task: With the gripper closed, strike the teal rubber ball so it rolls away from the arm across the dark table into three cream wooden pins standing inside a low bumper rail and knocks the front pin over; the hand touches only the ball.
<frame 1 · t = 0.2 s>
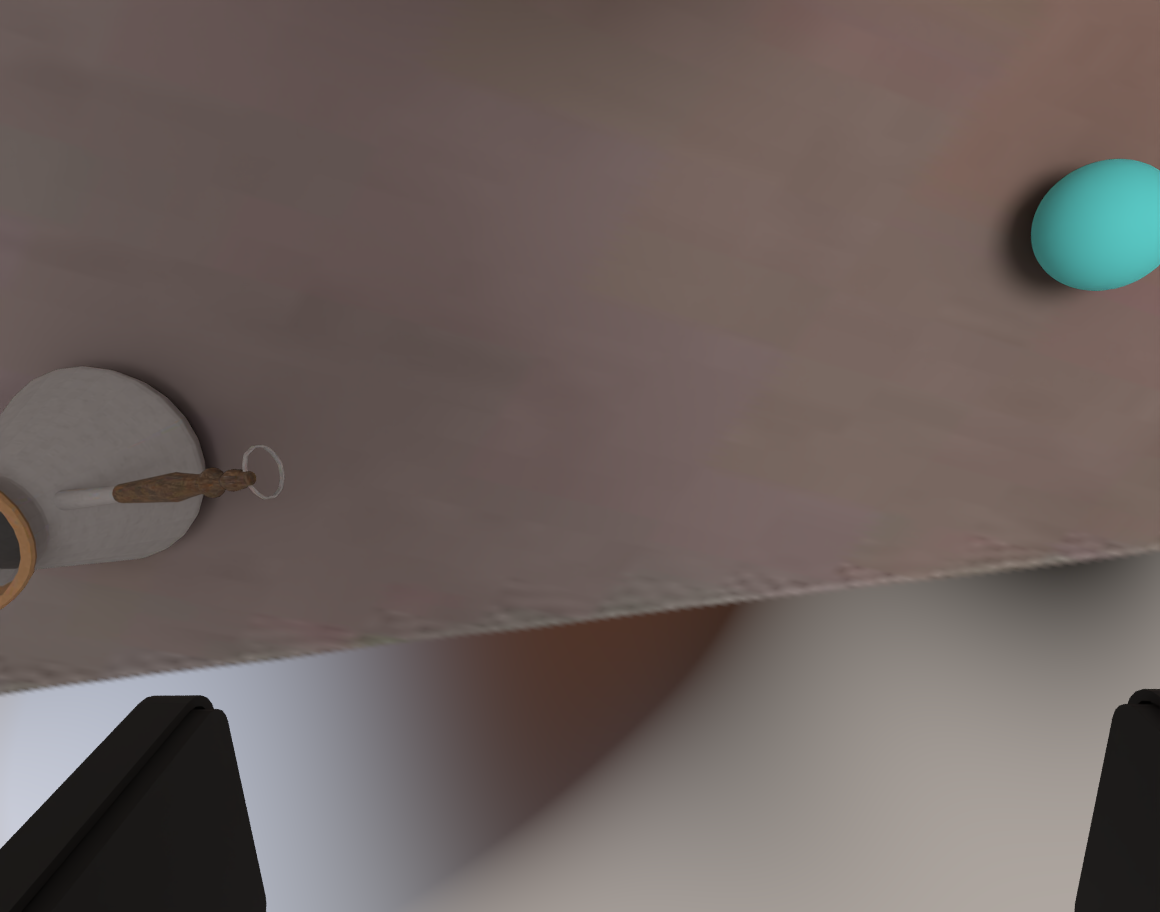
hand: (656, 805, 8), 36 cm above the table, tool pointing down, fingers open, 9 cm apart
coffee pot: (208, 430, 46), on the table
ball: (1103, 226, 37), on the table
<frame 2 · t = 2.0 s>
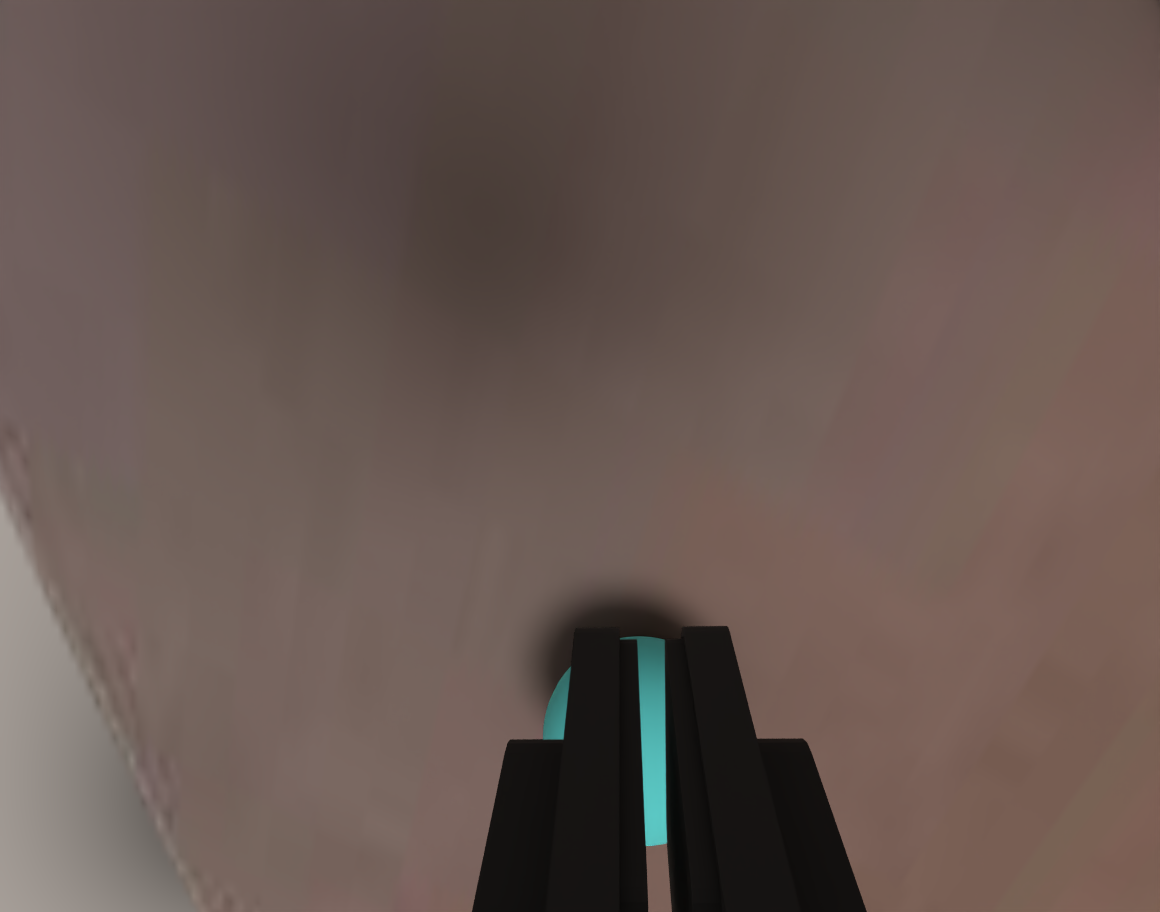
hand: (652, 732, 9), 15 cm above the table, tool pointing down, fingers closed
ball: (640, 736, 24), on the table
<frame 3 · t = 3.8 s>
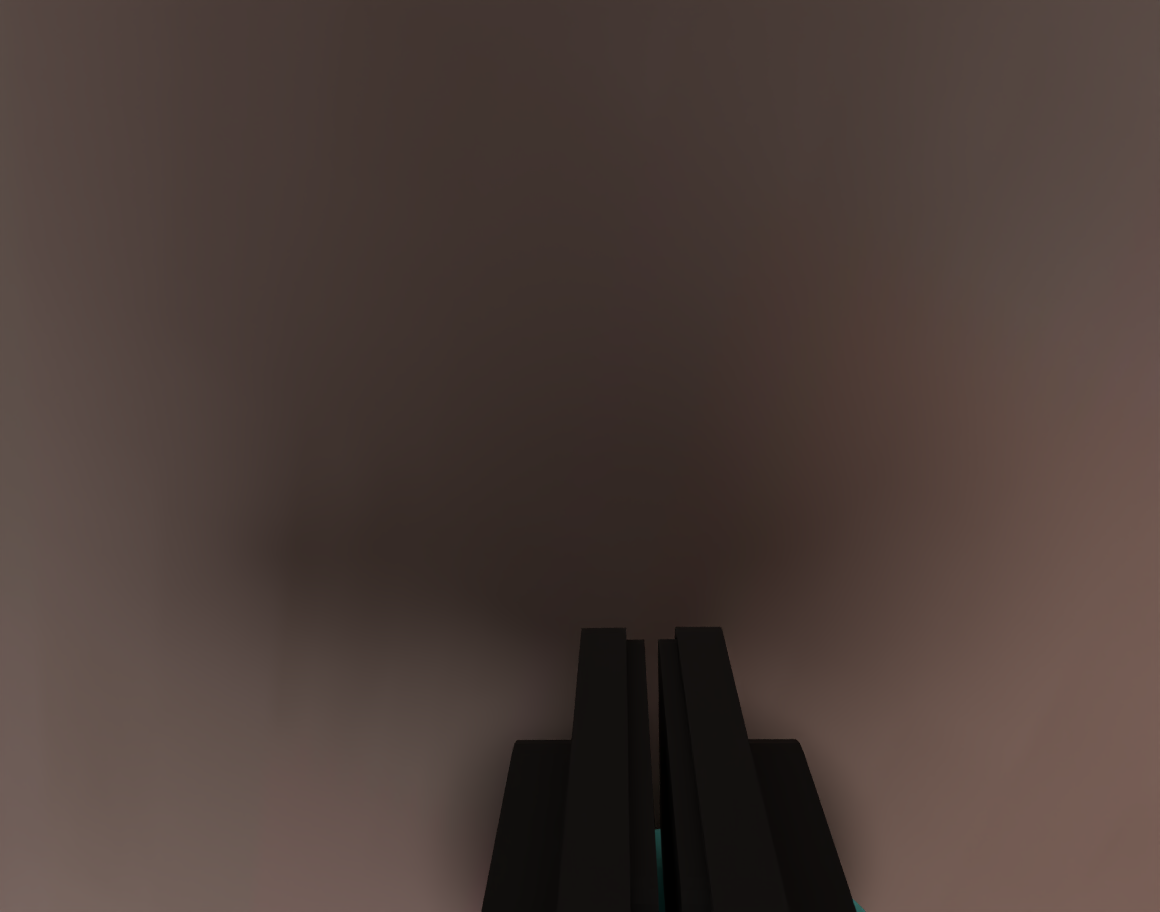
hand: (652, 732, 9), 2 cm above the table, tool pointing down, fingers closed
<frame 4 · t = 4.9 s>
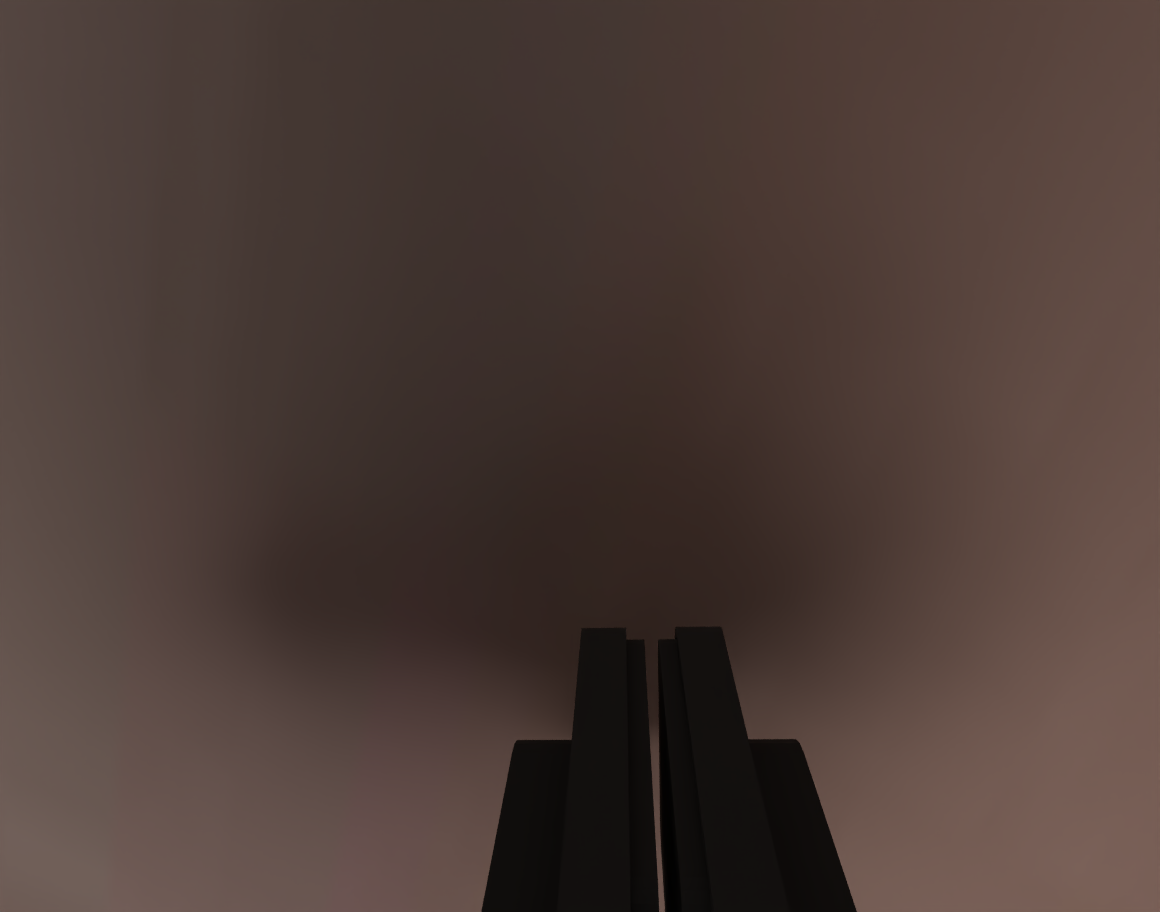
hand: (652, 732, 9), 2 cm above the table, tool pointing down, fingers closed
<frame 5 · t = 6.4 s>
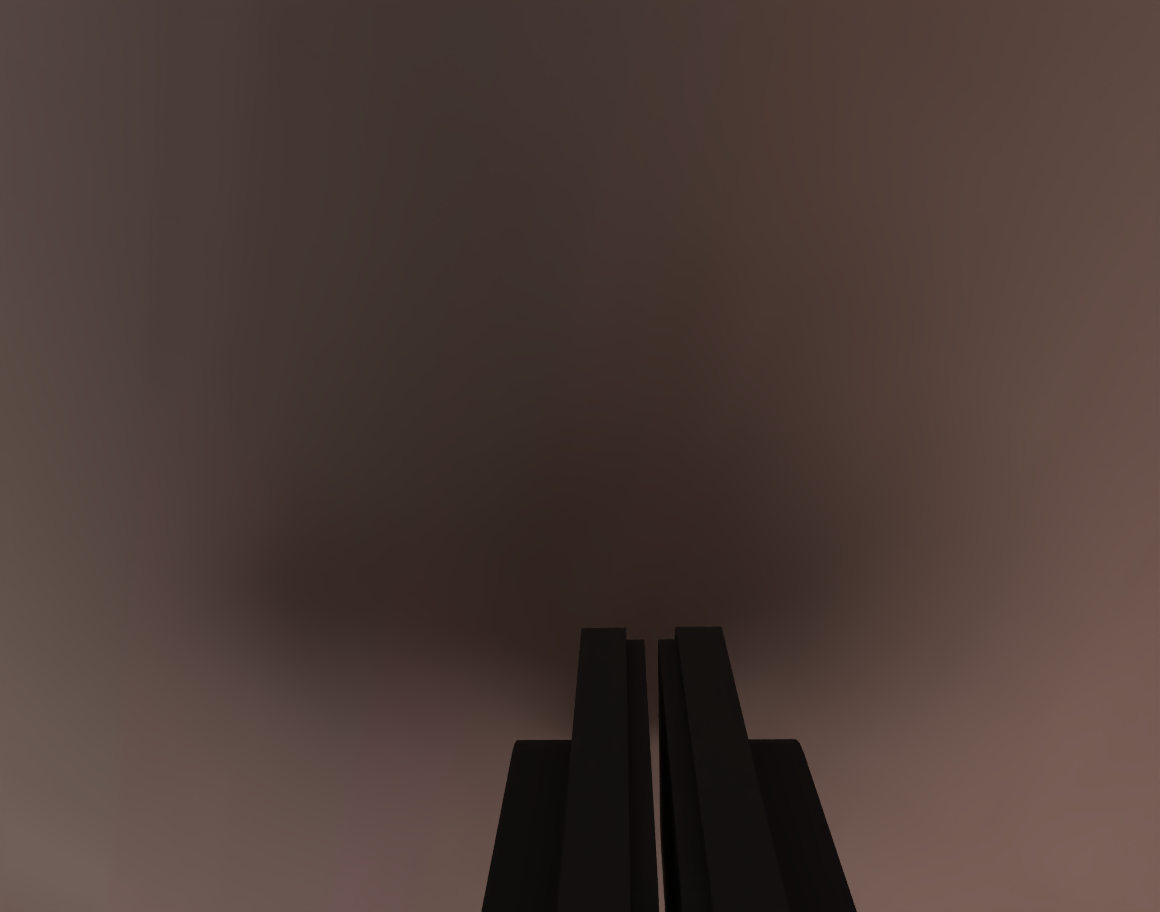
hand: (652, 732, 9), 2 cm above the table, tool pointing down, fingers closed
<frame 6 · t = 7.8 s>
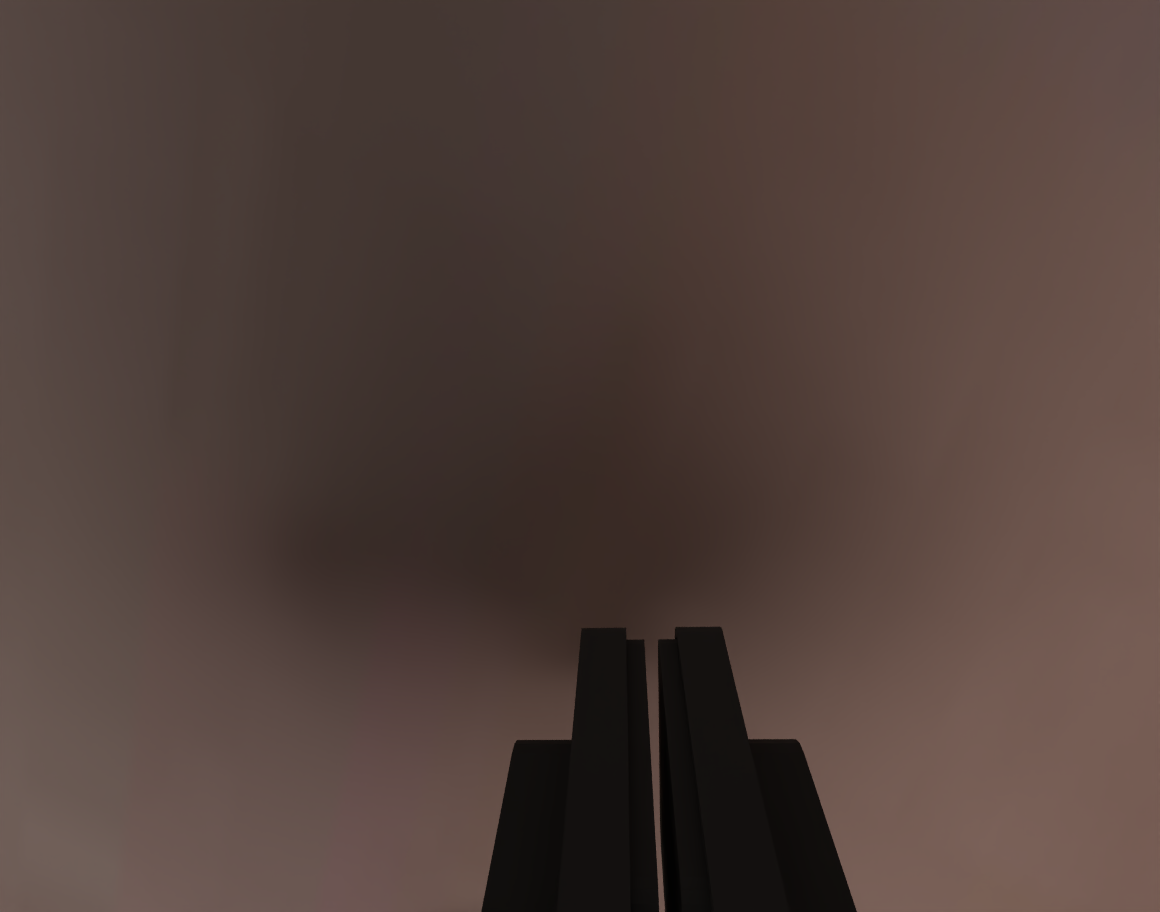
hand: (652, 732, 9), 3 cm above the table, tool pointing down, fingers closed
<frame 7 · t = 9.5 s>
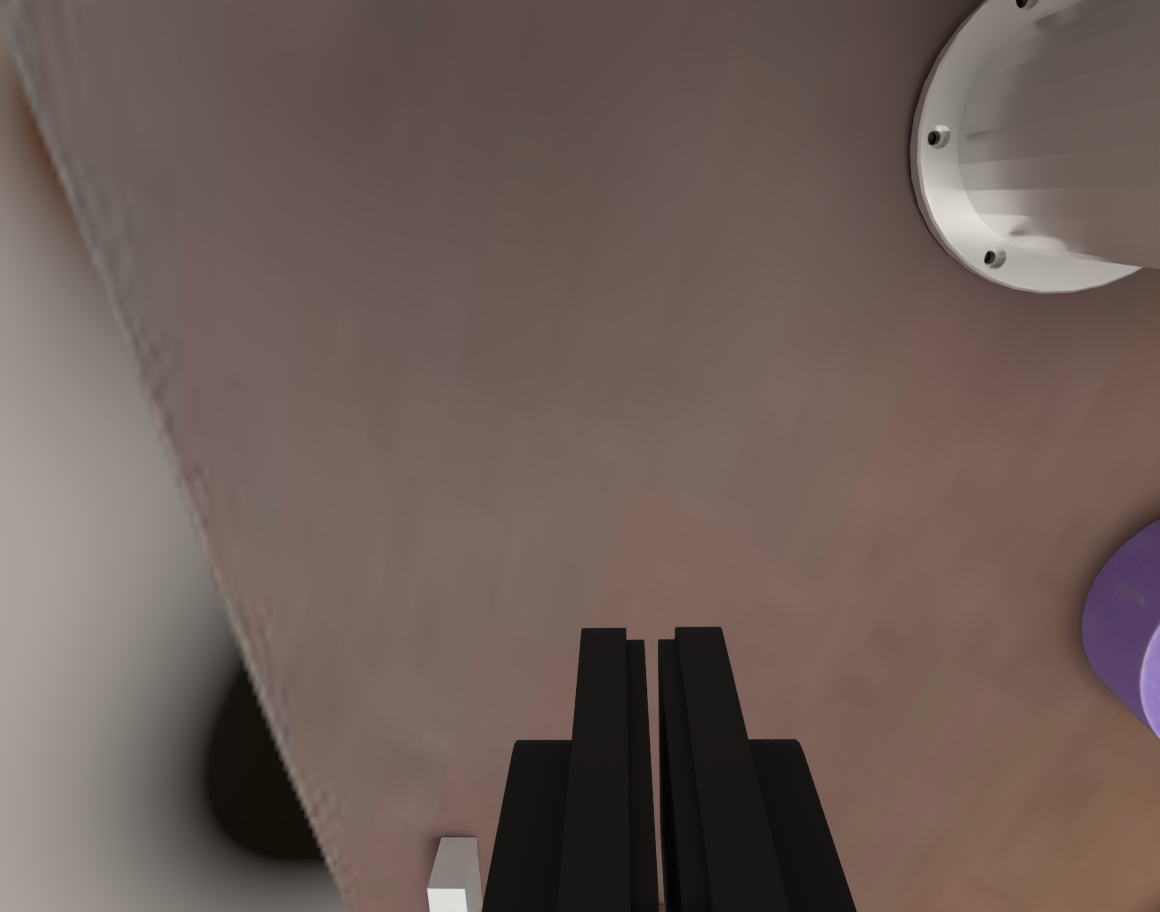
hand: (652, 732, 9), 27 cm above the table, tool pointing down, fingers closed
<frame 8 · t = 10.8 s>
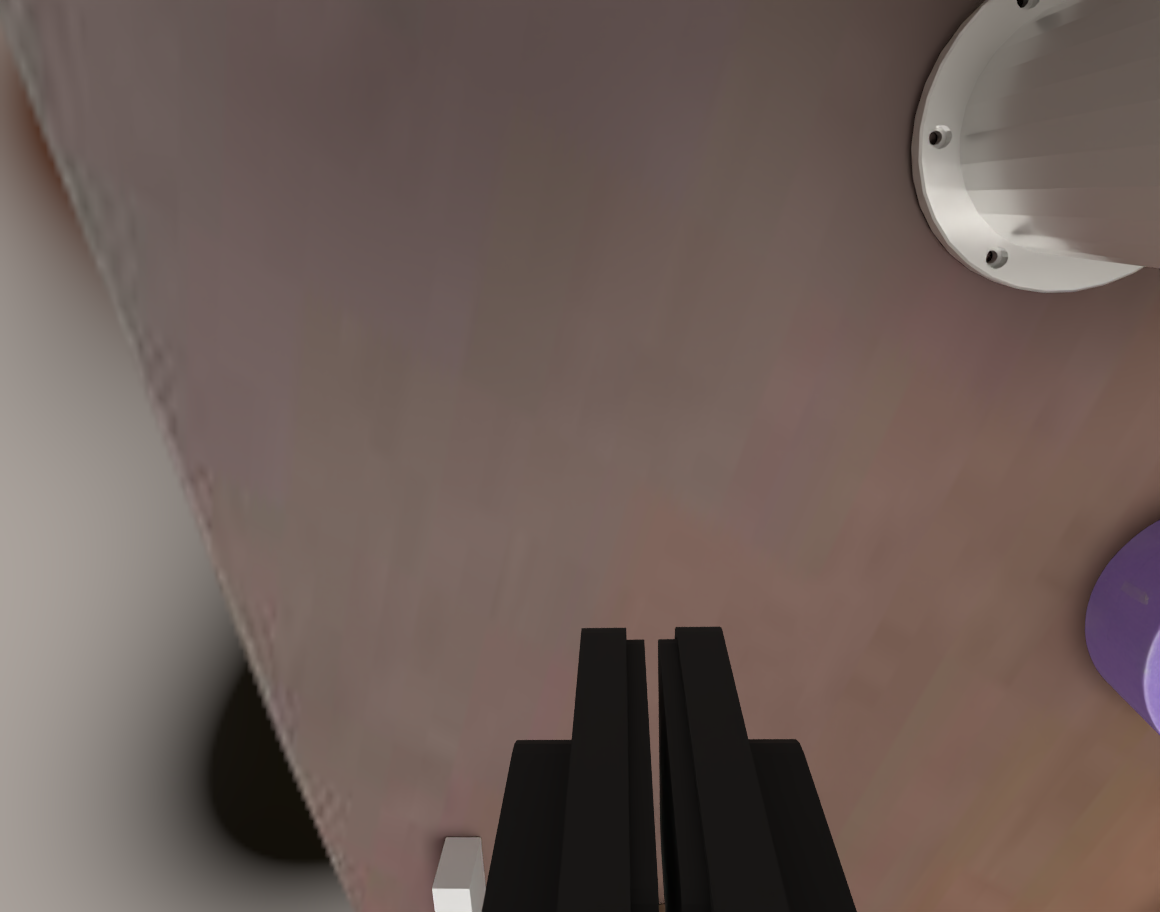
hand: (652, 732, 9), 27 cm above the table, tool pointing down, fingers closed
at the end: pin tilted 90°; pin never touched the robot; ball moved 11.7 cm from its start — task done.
